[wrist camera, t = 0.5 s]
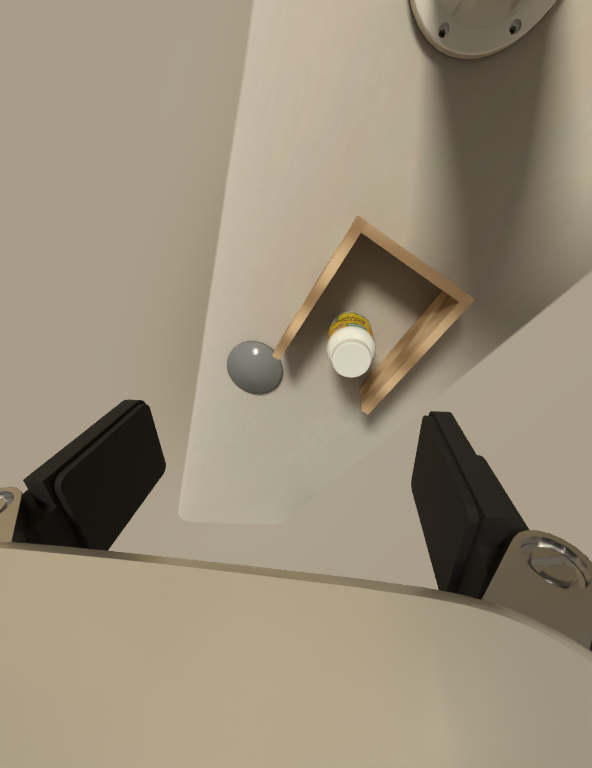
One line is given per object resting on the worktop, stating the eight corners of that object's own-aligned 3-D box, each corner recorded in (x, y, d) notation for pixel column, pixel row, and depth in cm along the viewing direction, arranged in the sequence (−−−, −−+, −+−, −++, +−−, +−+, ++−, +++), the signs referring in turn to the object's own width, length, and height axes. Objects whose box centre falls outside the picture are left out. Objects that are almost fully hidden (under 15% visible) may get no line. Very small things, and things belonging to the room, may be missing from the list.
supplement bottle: (332, 352, 42) (328, 386, 33) (326, 313, 39) (320, 340, 31) (373, 346, 40) (379, 381, 32) (369, 306, 38) (375, 332, 30)
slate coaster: (242, 330, 42) (241, 331, 41) (292, 361, 43) (291, 362, 43) (219, 373, 46) (218, 375, 45) (266, 400, 47) (265, 402, 46)
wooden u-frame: (357, 215, 34) (358, 216, 28) (456, 287, 36) (475, 299, 30) (281, 338, 42) (271, 355, 37) (365, 390, 44) (368, 414, 38)
